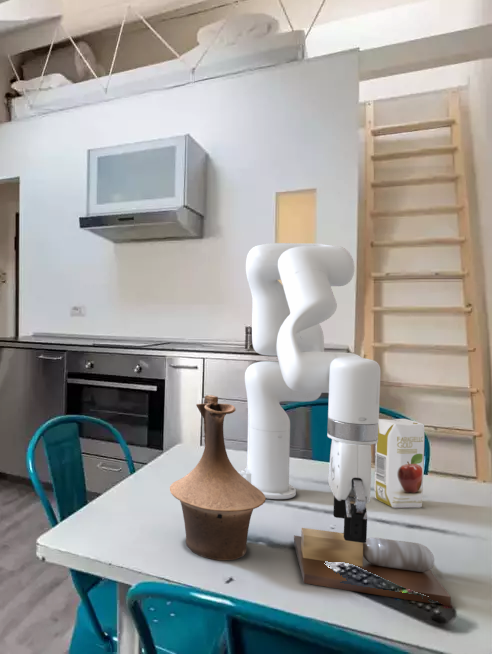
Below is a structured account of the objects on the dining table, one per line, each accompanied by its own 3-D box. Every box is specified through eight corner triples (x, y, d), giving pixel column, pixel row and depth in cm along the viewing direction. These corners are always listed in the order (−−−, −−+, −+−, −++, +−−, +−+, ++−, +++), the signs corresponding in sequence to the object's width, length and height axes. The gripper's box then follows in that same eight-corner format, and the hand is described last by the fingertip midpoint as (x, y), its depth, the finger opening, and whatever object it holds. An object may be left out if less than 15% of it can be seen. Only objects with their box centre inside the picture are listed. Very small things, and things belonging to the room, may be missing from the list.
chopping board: (303, 583, 88) (304, 574, 88) (293, 543, 103) (293, 535, 103) (450, 606, 81) (451, 596, 81) (416, 560, 96) (417, 551, 96)
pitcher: (160, 526, 110) (162, 389, 109) (245, 528, 109) (248, 390, 109) (179, 568, 92) (181, 404, 92) (280, 570, 92) (283, 406, 91)
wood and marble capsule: (303, 559, 93) (304, 533, 93) (300, 548, 97) (301, 524, 97) (437, 579, 87) (438, 551, 87) (428, 566, 91) (429, 540, 91)
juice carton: (369, 497, 128) (371, 417, 128) (403, 496, 129) (405, 417, 129) (392, 509, 121) (394, 424, 120) (428, 508, 122) (430, 424, 121)
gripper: (320, 417, 102) (317, 507, 103) (336, 441, 85) (333, 547, 86) (365, 421, 99) (362, 513, 100) (391, 445, 83) (387, 555, 84)
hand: (348, 528), depth 93 cm, fingers open, 9 cm apart
